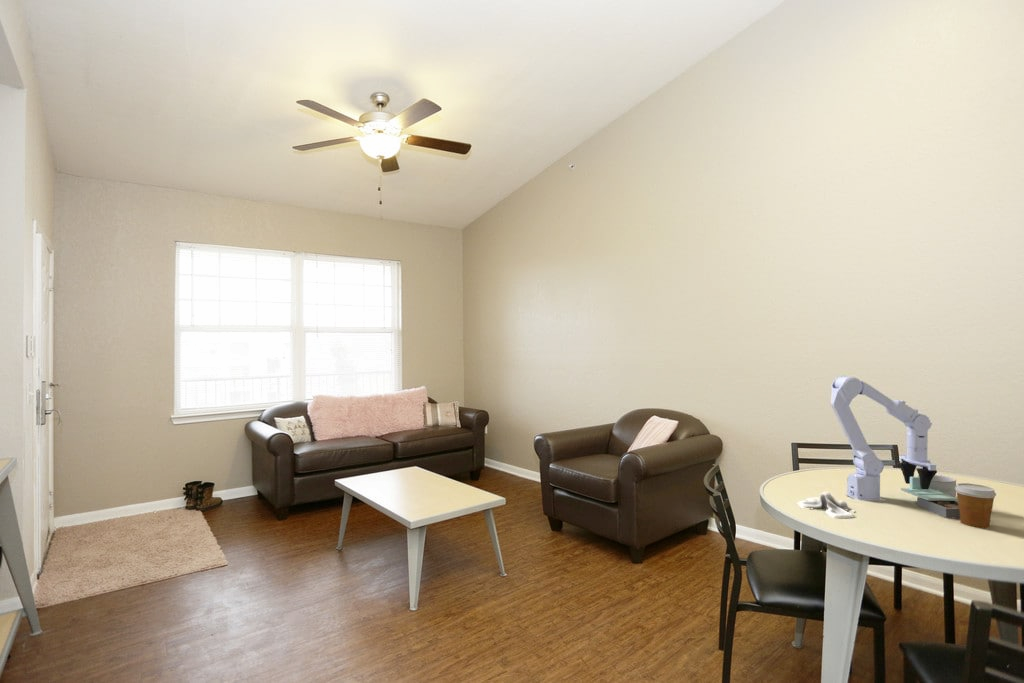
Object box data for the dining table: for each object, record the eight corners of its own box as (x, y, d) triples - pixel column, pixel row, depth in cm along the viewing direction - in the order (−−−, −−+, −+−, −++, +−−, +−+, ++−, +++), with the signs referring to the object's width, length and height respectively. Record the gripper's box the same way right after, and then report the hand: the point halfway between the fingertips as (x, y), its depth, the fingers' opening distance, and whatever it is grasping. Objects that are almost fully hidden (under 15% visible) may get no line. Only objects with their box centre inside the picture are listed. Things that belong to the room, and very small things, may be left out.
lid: (958, 500, 174) (958, 486, 174) (927, 500, 174) (927, 485, 174) (929, 490, 186) (929, 476, 186) (901, 490, 186) (901, 476, 186)
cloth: (850, 524, 164) (851, 504, 163) (787, 510, 177) (787, 491, 177) (871, 509, 178) (871, 490, 178) (811, 496, 192) (811, 480, 192)
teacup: (949, 506, 181) (949, 482, 181) (911, 497, 190) (912, 475, 190) (964, 499, 188) (964, 477, 188) (928, 492, 198) (928, 470, 198)
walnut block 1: (937, 510, 174) (937, 501, 174) (932, 507, 177) (932, 498, 177) (950, 511, 173) (950, 502, 173) (944, 508, 177) (944, 499, 177)
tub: (977, 520, 166) (978, 509, 166) (945, 519, 167) (946, 508, 167) (946, 508, 178) (947, 497, 178) (917, 507, 179) (917, 497, 179)
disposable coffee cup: (954, 519, 167) (954, 481, 167) (994, 525, 161) (995, 486, 161) (954, 527, 160) (954, 487, 160) (997, 534, 154) (997, 493, 154)
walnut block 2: (954, 516, 168) (954, 508, 168) (944, 513, 171) (944, 504, 171) (964, 516, 168) (964, 507, 168) (953, 512, 172) (953, 504, 172)
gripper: (945, 451, 178) (945, 492, 178) (913, 443, 193) (912, 480, 193) (924, 451, 178) (923, 492, 178) (893, 443, 193) (893, 480, 193)
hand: (916, 486), depth 185 cm, fingers open, 7 cm apart
